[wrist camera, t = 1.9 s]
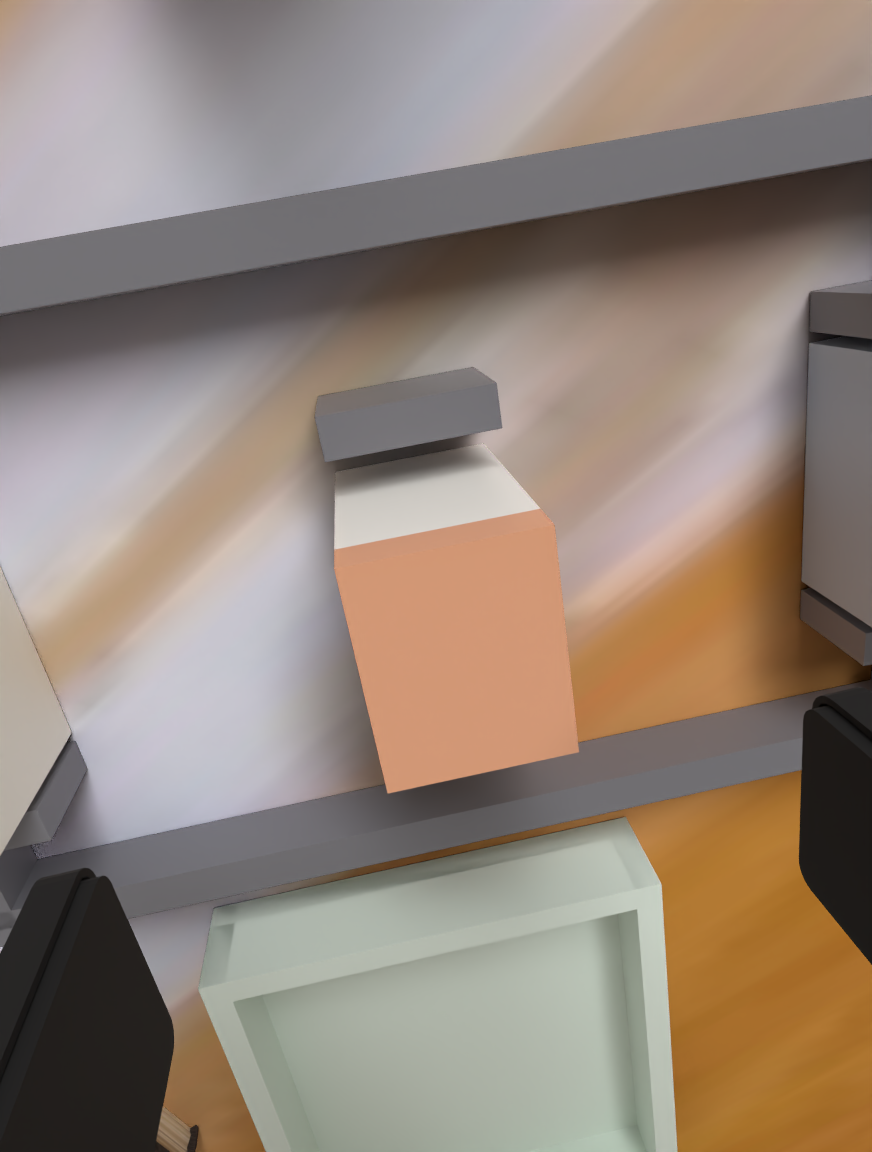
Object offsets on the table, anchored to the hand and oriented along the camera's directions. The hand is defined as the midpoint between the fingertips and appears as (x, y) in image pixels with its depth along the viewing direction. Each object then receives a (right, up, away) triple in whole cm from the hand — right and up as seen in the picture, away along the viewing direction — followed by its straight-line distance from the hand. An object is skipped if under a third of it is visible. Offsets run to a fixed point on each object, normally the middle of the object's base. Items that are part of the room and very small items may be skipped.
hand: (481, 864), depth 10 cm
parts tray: (0, -13, +18) cm, 22 cm away
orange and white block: (-1, +5, +11) cm, 12 cm away
